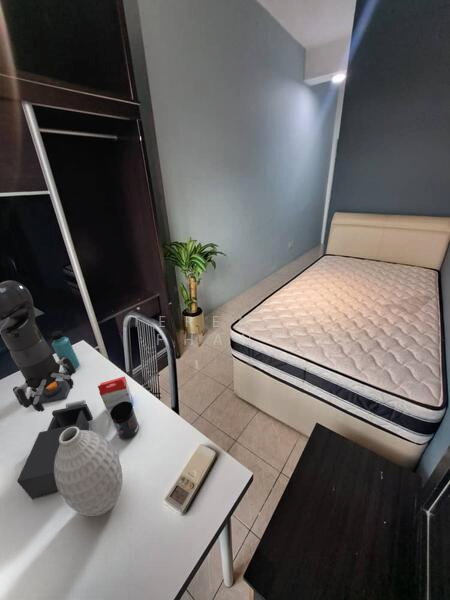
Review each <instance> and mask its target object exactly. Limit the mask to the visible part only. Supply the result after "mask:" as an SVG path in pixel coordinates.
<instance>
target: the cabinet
mask: <svg viewBox="0 0 450 600" xmlns="http://www.w3.org/2000/svg"><path fill="white" fill-rule="evenodd" d="M70 427H78V428H79V429H80V430H84V428H83V426H82V424H81V423H79V424H74V425H70V426H65V427H61V428H56V429H52V430H48V429H47V430H44V431H43V430H42V431H40V432H38V435H37V437H36V439H35V441H34V442H33V445H32V448H31V449H30V452H29V454H28V457H27V458H26V460H25V463H24V465H23V467H22V469H21V472H20V474H19V476H18V478H17V480H16V482H17V484H19V486H20V487H21V488H22V489H23V490H24V491H25V493H26V494H27V495H28V496H29V497H30V499H31V500H35V499H38V498H43V497H45V496H49V495H54V494H57V493H60V492H59V491H58V488H57V485H56V482H55V477H54V461H55V456H56V453H57V450H58V448H59V445H60V443H59V437H60V435H61V434H62V432H63V431H64V430H66V429H67V428H70Z"/></svg>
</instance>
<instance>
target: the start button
mask: <svg viewBox="0 0 450 600" xmlns="http://www.w3.org/2000/svg"><path fill="white" fill-rule="evenodd" d="M55 388H57V383H56V382H53V383H51V384H50V385H49V386H48V387H46V389H47V391H52V390H54V389H55Z"/></svg>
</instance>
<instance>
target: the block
mask: <svg viewBox="0 0 450 600" xmlns="http://www.w3.org/2000/svg"><path fill="white" fill-rule="evenodd" d="M72 381H73V382H74V380H73V379H72ZM55 382H56V383H57V388H55V389H54V390H52V391H47V389H46V388H43V391H42V394H41V395H40V397H39V400H38V401H40V402H41V404H42V405H45V404H49V403H53V402H58V401H64V400H67V399H68V396H69V393H70V391H71V389H69V388H67V387H66V385H65V383H64V381H63V380H56V381H55Z"/></svg>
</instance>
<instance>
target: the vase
mask: <svg viewBox="0 0 450 600" xmlns="http://www.w3.org/2000/svg"><path fill="white" fill-rule="evenodd" d="M59 443H60V445H59V448H58V450H57V453H56V456H55V461H54V477H55V482H56V485H57V488H58V491H59V492H58V493H59V494H60V496H61V497H62V499H63V500H64V502H65V503H66V504H67V505H68V506H69V507H70V508H71V509H72V510H73V511H75V512H76V513H78V514H80V515H83V516H87V517H99V516H101V515H104V514H106V513H107V512H109V511H110V510H111V509H112V508H113V507H114V506H115V505H116V503H117V502H118V500H119V498H120V496H121V492H122V488H123V477H124V476H123V470H122V469H123V468H122V464H121V461H120V458H119V456H118V453H117V452H116V450H115V448H114V446H113V445H112V443H111V442H110V441H109V440H108V439H107V438H105V437H104V435H101V434H100V433H98V432H95V431H93V430H87V431H86V430H80V429H79V428H78V427H70V428H67V429H66V430H64V431H63V432H62V434H61V435H60V437H59Z"/></svg>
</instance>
